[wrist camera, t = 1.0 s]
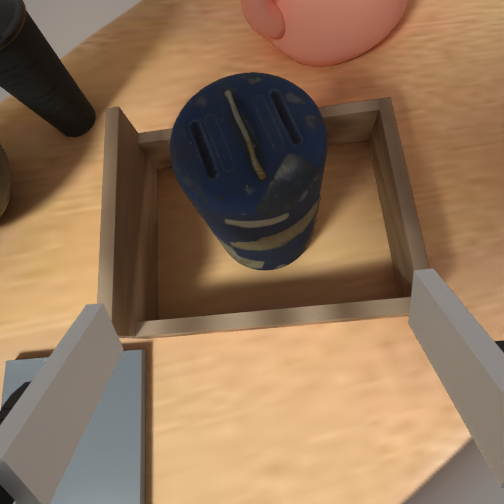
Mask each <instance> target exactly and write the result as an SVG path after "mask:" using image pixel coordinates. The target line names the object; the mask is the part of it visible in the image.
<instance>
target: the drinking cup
mask: <svg viewBox="0 0 504 504" xmlns="http://www.w3.org/2000/svg"><path fill="white" fill-rule="evenodd" d="M0 86H1V87H2V88H3V89H5V90H6V91H7V92H9V93H10V94H11V95H13V96H14V97H15V98H17V99H18V100H19V101H20V102H22V103H23V104H24V105H26V106H27V107H28V108H30V109H31V110H32V111H34V112H35V113H36V114H38V115H39V116H40V117H42V118H43V119H44V120H46V121H47V122H48V123H50V124H51V125H52V126H54V127H55V128H56V129H58V130H59V131H60V132H62V133H63V134H65V135H67V136H71V137H75V136H80V135H82V134H84V133H86V132H87V131H88V130H89V129H90V128H91V127H92V126H93V124H94V121H95V111H94V109H93V108H92V106H91V105H90V103H89V102H88V100H87V99H86V97H85V96H84V94H83V93H82V91H81V90H80V89H79V87H78V86H77V84H76V83H75V81H74V80H73V78H72V77H71V75H70V74H69V72H68V71H67V69H66V68H65V67H64V65H63V64H62V62H61V61H60V59H59V58H58V56H57V55H56V53H55V52H54V51H53V49H52V48H51V46H50V45H49V43H48V42H47V40H46V39H45V37H44V36H43V34H42V33H41V31H40V30H39V29H38V27H37V25H36V24H35V23H34V21H33V20H32V18H31V17H30V15H29V14H28V12H27V11H26V8H25V4H24V2H23V0H0Z"/></svg>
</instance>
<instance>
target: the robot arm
mask: <svg viewBox="0 0 504 504" xmlns="http://www.w3.org/2000/svg"><path fill="white" fill-rule="evenodd" d="M408 323H409V325H410V327H411V329H412V330H413V332H414V334H415V336H416V338H417V339H418V341H419V343H420V345H421V346H422V348H423V350H424V352H425V354H426V355H427V357H428V359H429V361H430V362H431V364H432V366H433V368H434V370H435V371H436V373H437V375H438V377H439V378H440V380H441V382H442V384H443V386H444V387H445V389H446V391H447V393H448V394H449V396H450V398H451V400H452V402H453V403H454V405H455V407H456V409H457V411H458V412H459V414H460V416H461V418H462V419H463V421H464V423H465V425H466V427H467V428H468V430H469V432H470V434H471V435H472V437H473V439H474V441H475V442H476V444H477V446H478V448H479V450H480V451H481V453H482V455H483V457H484V459H485V460H486V462H487V464H488V466H489V467H490V469H491V471H492V473H493V475H494V476H495V478H496V480H497V481H498V483H499V485H500V487H501V488H504V341H493V339H492V338H491V337H490V336H489V335H488V333H487V332H486V331H485V330H484V329H483V327H482V326H481V325H480V324H479V323H478V321H477V320H476V319H475V318H474V317H473V315H472V314H471V313H470V312H469V311H468V309H467V308H466V307H465V306H464V304H463V303H462V302H461V301H460V300H459V298H458V297H457V296H456V295H455V294H454V292H453V291H452V290H451V289H450V288H449V286H448V285H447V284H446V283H445V282H444V280H443V279H442V278H441V277H440V276H439V274H438V273H437V272H436V271H435V270H434V268H433V269H423V270H414V273H413V283H412V292H411V302H410V312H409V321H408ZM122 351H123V347H122V344H121V342H120V340H119V338H118V335H117V333H116V331H115V329H114V326H113V324H112V322H111V320H110V318H109V315H108V313H107V311H106V309H105V306H104V304H103V303H99V304H90V305H86V306H85V308H84V309H83V310H82V312H81V313H80V315H79V316H78V317H77V319H76V320H75V322H74V323H73V324H72V326H71V327H70V328H69V330H68V331H67V333H66V334H65V335H64V337H63V338H62V340H61V341H60V342H59V344H58V345H57V347H56V348H55V349H54V351H53V352H52V354H51V355H50V356H49V358H48V359H47V361H46V362H45V363H44V365H43V366H42V368H41V369H40V370H39V372H38V373H37V375H36V376H35V377H34V379H33V380H32V381H30V382H25V383H24V384H23V385H21V386H20V387H19V388H18V389H17V390H16V391H15V392H13V393H12V394H11V395H10V397H9V398H8V399H7V401H6V402H5V403H4V405H3V406H2V407H1V411H0V504H13V503H14V501H15V502H16V503H17V504H50V502H51V500H52V498H53V496H54V494H55V492H56V490H57V488H58V485H59V483H60V481H61V479H62V477H63V475H64V473H65V471H66V469H67V467H68V465H69V462H70V460H71V458H72V456H73V454H74V452H75V450H76V448H77V446H78V444H79V441H80V439H81V437H82V435H83V433H84V431H85V429H86V427H87V425H88V423H89V420H90V418H91V416H92V414H93V412H94V410H95V408H96V406H97V404H98V402H99V400H100V397H101V395H102V393H103V391H104V389H105V387H106V385H107V383H108V381H109V379H110V376H111V374H112V372H113V370H114V368H115V366H116V364H117V362H118V360H119V358H120V355H121V353H122Z"/></svg>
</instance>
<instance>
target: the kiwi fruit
mask: <svg viewBox="0 0 504 504" xmlns="http://www.w3.org/2000/svg"><path fill="white" fill-rule="evenodd" d="M10 185H11V171H10V165H9V161H8V158H7V155H6V153H5V151H4V149H3V148H2V146H1V145H0V217H1V216H2V214H3V213H4V211H5V210H6V208H7V205H8V203H9V200H10Z"/></svg>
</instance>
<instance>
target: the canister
mask: <svg viewBox="0 0 504 504" xmlns="http://www.w3.org/2000/svg"><path fill="white" fill-rule="evenodd" d="M326 155H327V132H326V127H325V123H324V120H323V117H322V115H321V113H320V111H319V109H318V107H317V105H316V104H315V103H314V101H313V100H312V99H311V98H310V96H309V95H308V94H307V93H306V92H304V91H303V90H302V89H301V88H299V87H298V86H296V85H295V84H293V83H292V82H290V81H288V80H286V79H283V78H281V77H277V76H274V75H270V74H264V73H255V72H252V73H242V74H236V75H231V76H228V77H225V78H222V79H219V80H217V81H215V82H213V83H211V84H210V85H208V86H206V87H204V88H203V89H201V90H200V91H199V92H198V93H197V94H196V95H194V96H193V97H192V98H191V99H190V100H189V101H188V102H187V103H186V105H185V106H184V107H183V109H182V110H181V112H180V114H179V116H178V117H177V119H176V122H175V124H174V127H173V130H172V134H171V138H170V160H171V165H172V168H173V172H174V174H175V176H176V178H177V180H178V182H179V184H180V186H181V187H182V189H183V191H184V192H185V193H186V195H187V196H188V198H189V199H190V201H191V202H192V203H193V205H194V206H195V207H196V209H197V210H198V212H199V213H200V214H201V216H202V217H203V218H204V220H205V221H206V223H207V224H208V225H209V227H210V229H211V230H212V232H213V233H214V234H215V236H216V237H217V239H218V240H219V241H220V243H221V244H222V245H223V247H224V248H225V250H226V251H227V252H228V253H229V255H230V256H231V257H232V258H233V259H235V260H236V261H237V262H239V263H240V264H242V265H244V266H246V267H249V268H252V269H256V270H274V269H279V268H282V267H284V266H287V265H289V264H290V263H292V262H293V261H295V260H296V259H297V258H298V257H299V256H300V255H301V254H302V253H303V252H304V251H305V249H306V248H307V246H308V244H309V242H310V240H311V237H312V234H313V229H314V224H315V222H316V219H317V212H318V206H319V202H320V199H321V198H320V189H321V183H322V178H323V172H324V166H325V161H326Z"/></svg>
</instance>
